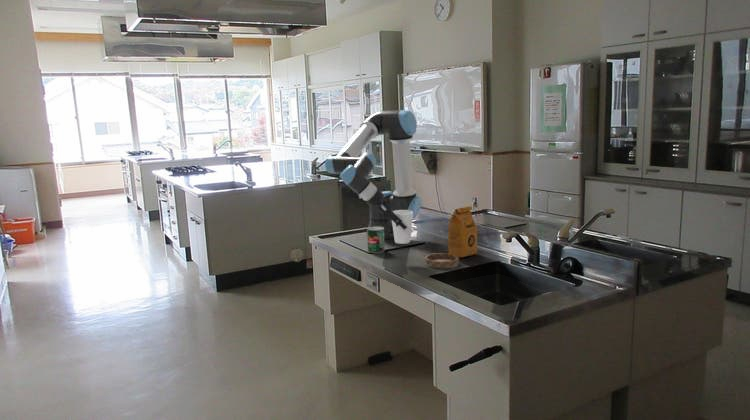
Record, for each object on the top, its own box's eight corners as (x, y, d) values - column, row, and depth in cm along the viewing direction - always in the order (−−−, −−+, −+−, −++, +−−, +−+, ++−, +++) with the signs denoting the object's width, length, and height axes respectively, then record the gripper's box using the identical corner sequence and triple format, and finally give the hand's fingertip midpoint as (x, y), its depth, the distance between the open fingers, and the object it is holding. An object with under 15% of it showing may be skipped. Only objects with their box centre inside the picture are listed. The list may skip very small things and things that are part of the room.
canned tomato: (385, 249, 254) (385, 226, 252) (383, 253, 247) (383, 230, 245) (369, 248, 256) (368, 226, 254) (366, 253, 248) (365, 229, 246)
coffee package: (480, 255, 241) (481, 206, 237) (462, 260, 234) (462, 210, 229) (463, 250, 249) (464, 203, 245) (445, 255, 241) (445, 207, 237)
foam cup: (417, 242, 229) (417, 212, 226) (399, 245, 224) (399, 215, 222) (404, 238, 237) (404, 209, 234) (387, 241, 232) (386, 211, 229)
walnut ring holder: (422, 259, 235) (422, 253, 234) (454, 258, 236) (454, 252, 235) (428, 269, 221) (428, 262, 221) (461, 268, 222) (461, 261, 222)
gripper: (363, 197, 237) (400, 230, 241) (367, 206, 215) (406, 243, 219) (375, 184, 236) (411, 218, 240) (380, 193, 214) (419, 230, 219)
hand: (409, 230), depth 230 cm, fingers closed on foam cup, 9 cm apart
